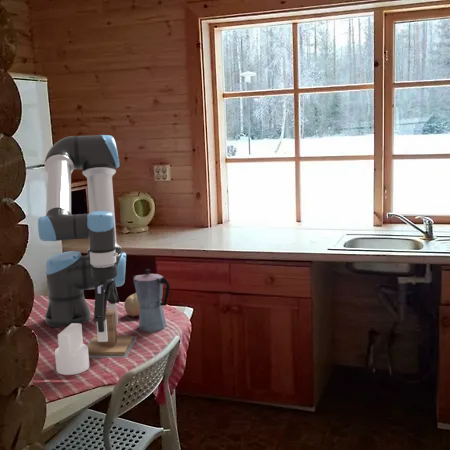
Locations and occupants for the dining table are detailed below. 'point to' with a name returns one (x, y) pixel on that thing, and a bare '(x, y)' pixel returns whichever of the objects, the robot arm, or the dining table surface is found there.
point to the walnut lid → (110, 339)
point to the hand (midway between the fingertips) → (108, 332)
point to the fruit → (132, 305)
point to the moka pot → (151, 301)
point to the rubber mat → (115, 355)
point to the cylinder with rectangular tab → (71, 351)
